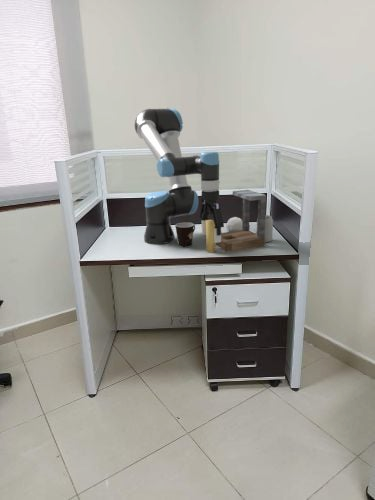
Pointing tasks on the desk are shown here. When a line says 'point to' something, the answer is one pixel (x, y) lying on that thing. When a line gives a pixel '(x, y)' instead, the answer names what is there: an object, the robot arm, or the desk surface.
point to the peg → (210, 236)
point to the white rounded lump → (234, 224)
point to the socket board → (239, 241)
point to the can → (268, 228)
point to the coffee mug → (185, 233)
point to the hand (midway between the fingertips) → (211, 238)
